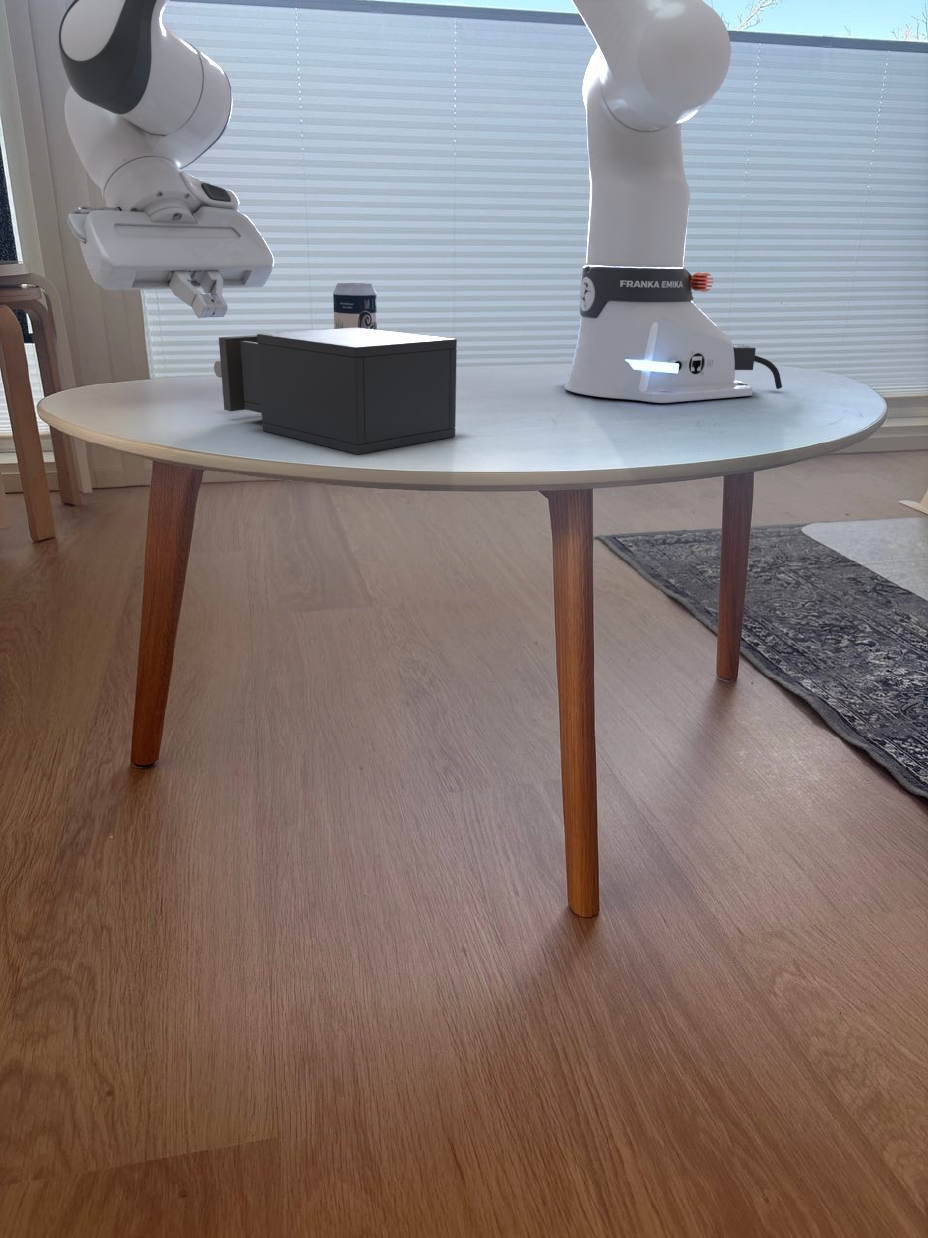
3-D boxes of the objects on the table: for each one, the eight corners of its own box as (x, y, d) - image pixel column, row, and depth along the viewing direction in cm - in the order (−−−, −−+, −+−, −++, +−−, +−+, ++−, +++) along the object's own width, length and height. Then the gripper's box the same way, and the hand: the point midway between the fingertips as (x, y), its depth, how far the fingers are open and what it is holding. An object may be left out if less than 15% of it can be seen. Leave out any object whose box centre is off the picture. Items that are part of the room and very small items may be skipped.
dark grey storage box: (262, 430, 86) (256, 333, 83) (359, 416, 94) (356, 327, 90) (357, 454, 77) (355, 347, 74) (455, 436, 85) (457, 338, 82)
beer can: (375, 399, 104) (374, 285, 99) (333, 398, 104) (329, 284, 99) (380, 392, 108) (378, 283, 104) (339, 391, 108) (336, 282, 104)
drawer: (201, 404, 93) (195, 333, 90) (286, 394, 100) (283, 328, 97) (302, 428, 82) (298, 349, 80) (389, 415, 89) (388, 341, 87)
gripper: (66, 181, 90) (128, 294, 87) (247, 192, 103) (304, 289, 101) (53, 230, 94) (111, 339, 92) (227, 235, 108) (282, 329, 105)
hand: (213, 313), depth 96 cm, fingers closed
